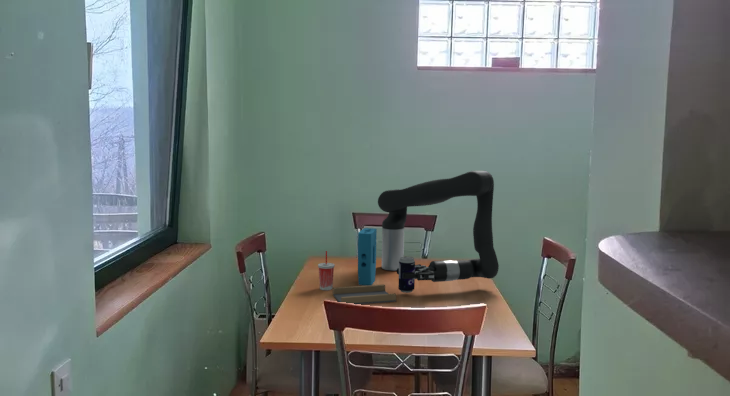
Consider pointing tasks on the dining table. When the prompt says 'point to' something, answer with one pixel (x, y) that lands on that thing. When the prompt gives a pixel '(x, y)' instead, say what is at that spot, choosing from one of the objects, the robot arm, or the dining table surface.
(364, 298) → the brown open tray
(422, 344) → the dining table surface
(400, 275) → the beverage can
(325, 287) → the beverage cup
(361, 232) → the block
